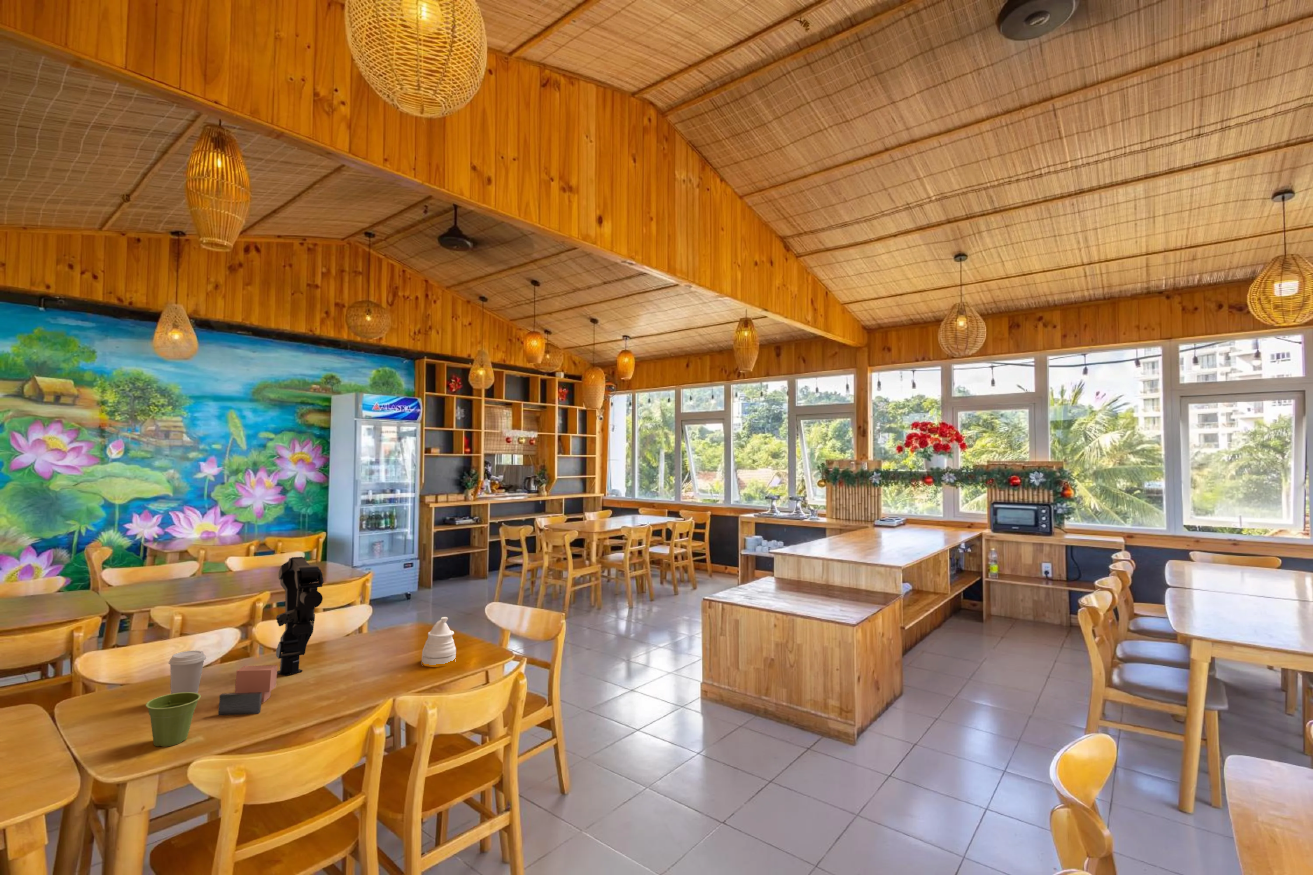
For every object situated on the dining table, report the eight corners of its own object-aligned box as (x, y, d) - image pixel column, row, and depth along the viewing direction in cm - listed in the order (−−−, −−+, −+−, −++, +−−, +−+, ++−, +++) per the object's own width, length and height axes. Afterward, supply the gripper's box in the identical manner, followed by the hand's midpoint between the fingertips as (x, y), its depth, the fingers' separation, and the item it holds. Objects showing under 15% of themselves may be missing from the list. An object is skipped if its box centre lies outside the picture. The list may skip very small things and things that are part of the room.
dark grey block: (240, 698, 196) (241, 679, 196) (277, 696, 198) (278, 678, 198) (218, 715, 182) (219, 695, 182) (258, 713, 184) (259, 693, 184)
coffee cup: (160, 709, 185) (165, 659, 186) (169, 698, 193) (173, 651, 194) (199, 704, 189) (203, 656, 190) (205, 694, 198) (209, 648, 199)
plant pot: (131, 746, 160) (135, 703, 161) (180, 729, 171) (183, 689, 172) (159, 755, 156) (163, 710, 157) (207, 737, 167) (210, 696, 168)
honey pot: (462, 661, 242) (464, 616, 243) (435, 669, 231) (438, 622, 232) (441, 655, 249) (444, 611, 250) (414, 663, 238) (417, 617, 239)
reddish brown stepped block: (241, 697, 195) (243, 665, 196) (275, 696, 197) (277, 664, 198) (233, 703, 190) (236, 670, 191) (268, 702, 193) (271, 669, 193)
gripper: (281, 598, 215) (277, 642, 214) (276, 610, 199) (272, 657, 198) (316, 596, 221) (313, 639, 220) (314, 607, 204) (311, 654, 203)
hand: (302, 647), depth 210 cm, fingers open, 9 cm apart
